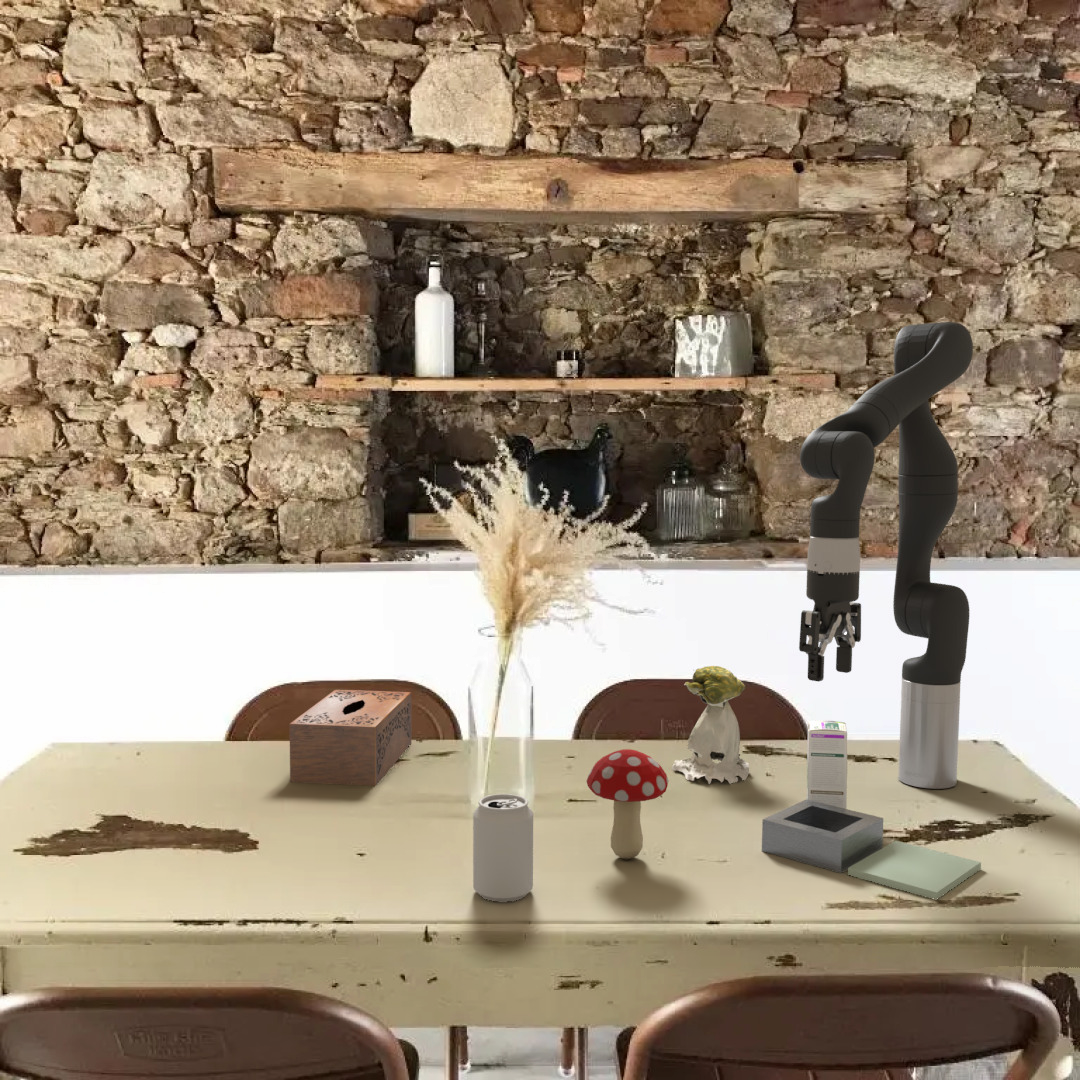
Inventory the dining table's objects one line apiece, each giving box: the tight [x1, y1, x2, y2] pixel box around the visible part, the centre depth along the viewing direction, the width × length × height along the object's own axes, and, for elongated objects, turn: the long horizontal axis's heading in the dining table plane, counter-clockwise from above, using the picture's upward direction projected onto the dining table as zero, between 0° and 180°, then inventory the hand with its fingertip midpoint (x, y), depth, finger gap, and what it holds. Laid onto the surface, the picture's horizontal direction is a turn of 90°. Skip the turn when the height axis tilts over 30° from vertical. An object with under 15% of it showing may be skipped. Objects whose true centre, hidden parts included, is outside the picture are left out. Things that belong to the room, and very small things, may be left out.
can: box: [472, 793, 534, 903], centre depth 146 cm, size 8×8×12 cm
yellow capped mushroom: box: [671, 665, 750, 785], centre depth 197 cm, size 12×13×18 cm
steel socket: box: [761, 799, 884, 874], centre depth 162 cm, size 12×12×4 cm
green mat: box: [847, 840, 982, 900], centre depth 154 cm, size 14×12×1 cm
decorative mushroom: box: [586, 748, 669, 860], centre depth 158 cm, size 11×11×15 cm
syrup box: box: [806, 720, 848, 809], centre depth 174 cm, size 6×6×14 cm
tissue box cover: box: [288, 689, 412, 786], centre depth 203 cm, size 26×14×10 cm, turn 173°
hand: (829, 676), depth 173 cm, fingers open, 8 cm apart
